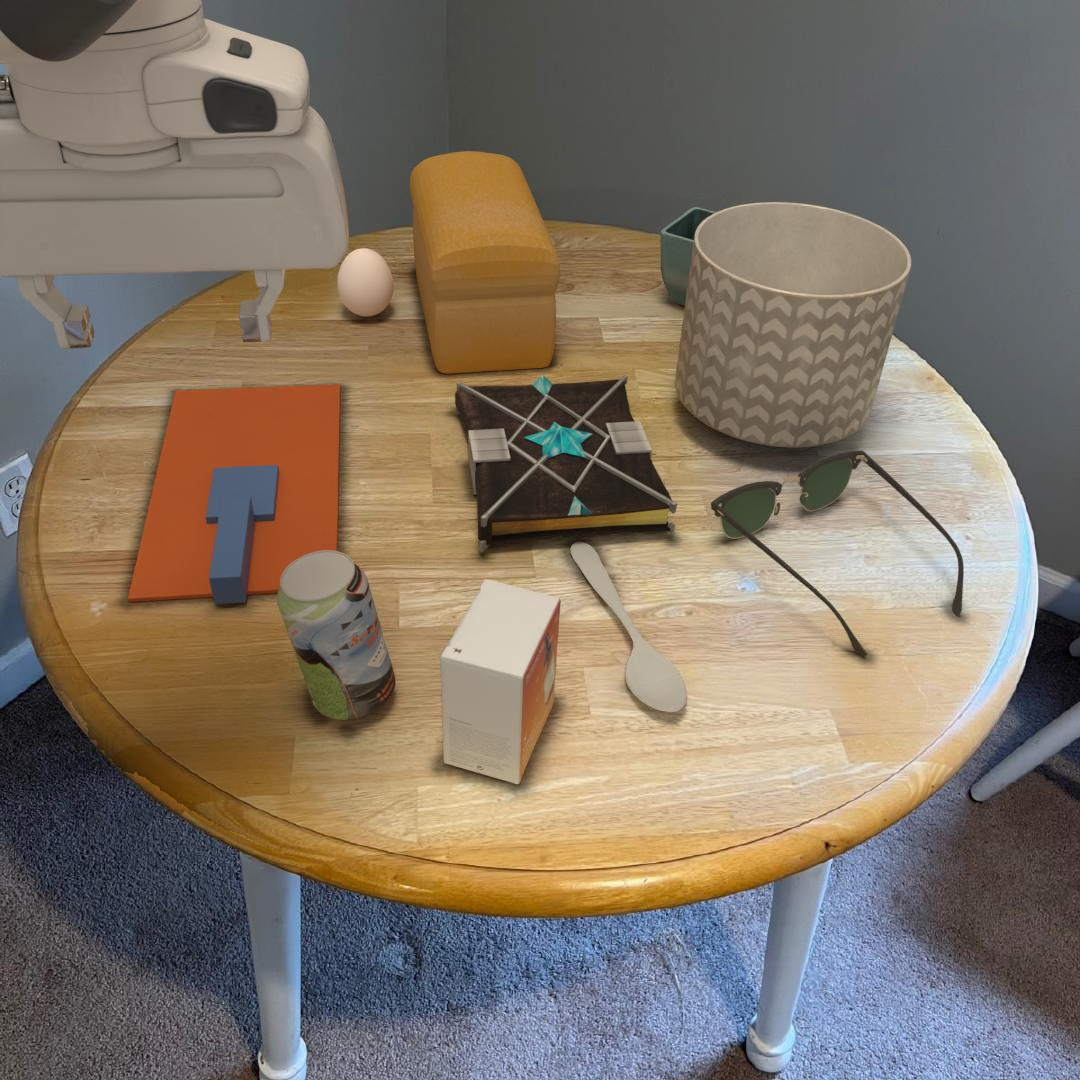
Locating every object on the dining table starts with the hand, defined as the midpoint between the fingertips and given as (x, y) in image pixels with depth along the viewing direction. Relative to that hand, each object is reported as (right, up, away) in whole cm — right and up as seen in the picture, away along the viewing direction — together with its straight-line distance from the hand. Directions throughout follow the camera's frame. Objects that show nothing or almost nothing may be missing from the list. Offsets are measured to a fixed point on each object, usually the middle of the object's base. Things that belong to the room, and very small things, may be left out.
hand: (169, 340), depth 59 cm
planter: (+43, +1, +49) cm, 65 cm away
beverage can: (+6, -22, +20) cm, 30 cm away
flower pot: (+39, +17, +67) cm, 80 cm away
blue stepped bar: (-5, -10, +32) cm, 34 cm away
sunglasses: (+45, -14, +32) cm, 57 cm away
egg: (+1, +14, +62) cm, 64 cm away
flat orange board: (-6, -6, +38) cm, 39 cm away
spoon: (+26, -18, +26) cm, 41 cm away
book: (+22, -5, +41) cm, 46 cm away
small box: (+17, -24, +17) cm, 35 cm away
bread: (+13, +14, +63) cm, 66 cm away
